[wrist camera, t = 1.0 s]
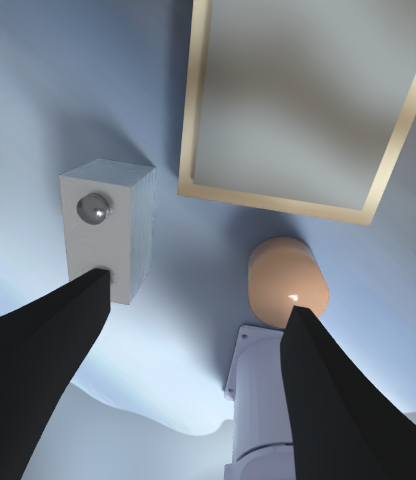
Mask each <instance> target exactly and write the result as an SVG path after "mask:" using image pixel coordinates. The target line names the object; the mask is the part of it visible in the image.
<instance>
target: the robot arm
mask: <svg viewBox="0 0 416 480" xmlns="http://www.w3.org/2000/svg"><path fill="white" fill-rule="evenodd" d="M109 313H110V271H109V270H104V269H99V268H94V269H92V270H90V271H88V272H86V273H84V274H83V275H81V276H79V277H77V278H76V279H74V280H72V281H70V282H69V283H67V284H65V285H63V286H61V287H60V288H58V289H56V290H54V291H52V292H51V293H49V294H47V295H45V296H43V297H41V298H39V299H37V300H35V301H33V302H31V303H29V304H27V305H25V306H23V307H21V308H19V309H17V310H15V311H12V312H10V313H8V314H6V315H3V316H1V317H0V480H21V478H22V475H23V473H24V471H25V469H26V467H27V464H28V462H29V460H30V458H31V456H32V454H33V451H34V449H35V447H36V445H37V443H38V441H39V439H40V437H41V435H42V433H43V431H44V429H45V427H46V425H47V423H48V421H49V419H50V417H51V415H52V413H53V411H54V409H55V407H56V405H57V403H58V401H59V399H60V397H61V396H62V394H63V392H64V391H65V389H66V387H67V385H68V384H69V382H70V381H71V379H72V377H73V376H74V374H75V373H76V371H77V370H78V368H79V366H80V365H81V363H82V362H83V360H84V359H85V357H86V355H87V354H88V352H89V351H90V349H91V347H92V346H93V344H94V343H95V341H96V339H97V338H98V336H99V335H100V333H101V331H102V328H103V326H104V324H105V322H106V320H107V318H108V315H109ZM243 335H246V336H243ZM224 398H225V399H226V400H229V401H234V425H233V426H234V427H233V455H232V464H226V465H225V471H224V480H416V425H415V424H414V423H413V422H412V421H411V420H409V419H408V418H407V417H406V416H405V415H404V414H403V413H402V412H401V411H399V410H398V409H397V408H396V407H395V406H394V405H393V404H392V403H391V402H390V401H389V400H388V399H387V398H386V397H385V396H384V395H383V394H382V393H381V392H380V391H379V390H378V389H377V388H376V387H375V386H374V385H373V384H372V383H371V382H370V381H369V380H368V379H367V378H366V377H365V375H364V374H363V373H362V372H361V371H360V370H359V369H358V368H357V366H356V365H355V364H354V363H353V362H352V361H351V360H350V358H349V357H348V356H347V355H346V354H345V353H344V351H343V350H342V349H341V348H340V346H339V345H338V344H337V343H336V341H335V340H334V339H333V338H332V336H331V335H330V334H329V332H328V331H327V330H326V329H325V327H324V326H323V325H322V323H321V322H320V321H319V319H318V318H317V317H316V316H315V314H314V313H313V312H312V310H311V309H310V308H306V307H301V306H295V305H294V306H293V308H292V311H291V314H290V317H289V319H288V322H287V325H286V328H285V330H284V332H282V331H276V330H271V329H265V328H260V327H254V326H248V325H243V326H241V327H240V329H239V334H238V338H237V342H236V346H235V351H234V355H233V359H232V363H231V368H230V372H229V376H228V380H227V385H226V389H225V393H224Z"/></svg>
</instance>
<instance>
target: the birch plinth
mask: <svg viewBox="0 0 416 480" xmlns="http://www.w3.org/2000/svg"><path fill="white" fill-rule="evenodd" d="M415 115H416V0H194V2H193V14H192V26H191V38H190V50H189V61H188V73H187V85H186V97H185V109H184V121H183V133H182V145H181V157H180V168H179V180H178V192H177V195H180V196H187V197H193V198H199V199H205V200H212V201H218V202H224V203H230V204H237V205H243V206H249V207H255V208H262V209H268V210H274V211H280V212H287V213H293V214H299V215H305V216H312V217H318V218H324V219H330V220H336V221H343V222H349V223H355V224H361V225H368V226H370V223H371V221H372V218H373V216H374V214H375V211H376V209H377V206H378V204H379V202H380V199H381V197H382V194H383V192H384V189H385V187H386V185H387V182H388V180H389V177H390V175H391V173H392V170H393V168H394V165H395V163H396V161H397V158H398V156H399V153H400V151H401V149H402V146H403V144H404V141H405V139H406V137H407V134H408V132H409V129H410V127H411V124H412V122H413V120H414V117H415Z"/></svg>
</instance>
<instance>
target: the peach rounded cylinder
mask: <svg viewBox="0 0 416 480" xmlns="http://www.w3.org/2000/svg"><path fill="white" fill-rule="evenodd" d="M248 299H249V305H250V308H251V310H252V312H253V313H254V314H255V316H256V317H257V318H258V319H260V320H261V321H262V322H264V323H266V324H268V325H270V326H273V327H277V328H286V325H287V322H288V319H289V317H290V314H291V311H292V308H293V306H294V305H295V306H301V307H306V308H310V309H311V310H312V312H313V313H314V314H315V316H316V317H317V318H318V317H320V316H321V314H322V313H323V312H324V311H325V309H326V307H327V305H328V302H329V290H328V287H327V284H326V282H325V279H324V277H323V275H322V273H321V270H320V268H319V266H318V264H317V261H316V259H315V257H314V255H313V253H312V251H311V249H310V248H309V247H308V246H307V245H306V244H305V243H303V242H302V241H300V240H298V239H295V238H291V237H274V238H271V239H268V240H266V241H264V242H262V243H261V244H259V245H258V246H257V247H256V248H255V249H254V250H253V252H252V253H251V255H250V257H249V260H248Z"/></svg>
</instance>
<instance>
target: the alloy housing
mask: <svg viewBox="0 0 416 480" xmlns="http://www.w3.org/2000/svg"><path fill="white" fill-rule="evenodd" d="M155 180H156V167H149V166H143V165H137V164H131V163H125V162H119V161H113V160H107V159H100V158H99V159H96V160H94V161H92V162H89V163H87V164H84V165H82V166H80V167H77V168H75V169H72V170H70V171H68V172H65V173H63V174H60V175H59V183H60V193H61V204H62V214H63V224H64V234H65V245H66V255H67V265H68V275H69V282H70V281H72V280H74V279H76V278H77V277H79V276H81V275H83V274H84V273H86V272H88V271H90V270H92V269H94V268H99V269H104V270H109V271H110V302H114V303H120V304H125V305H130V303H131V302H132V300H133V298H134V296H135V294H136V293H137V291H138V289H139V287H140V285H141V283H142V282H143V280H144V278H145V276H146V274H147V273H148V271H149V269H150V267H151V254H152V235H153V217H154V198H155Z"/></svg>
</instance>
